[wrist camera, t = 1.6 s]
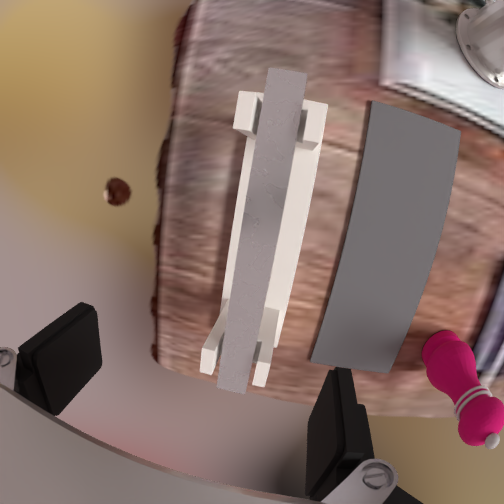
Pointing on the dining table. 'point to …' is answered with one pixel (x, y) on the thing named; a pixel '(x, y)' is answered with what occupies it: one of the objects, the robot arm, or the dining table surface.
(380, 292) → the mat
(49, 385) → the robot arm
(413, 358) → the dining table surface
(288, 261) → the rail stand
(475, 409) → the pepper mill
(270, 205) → the rail
